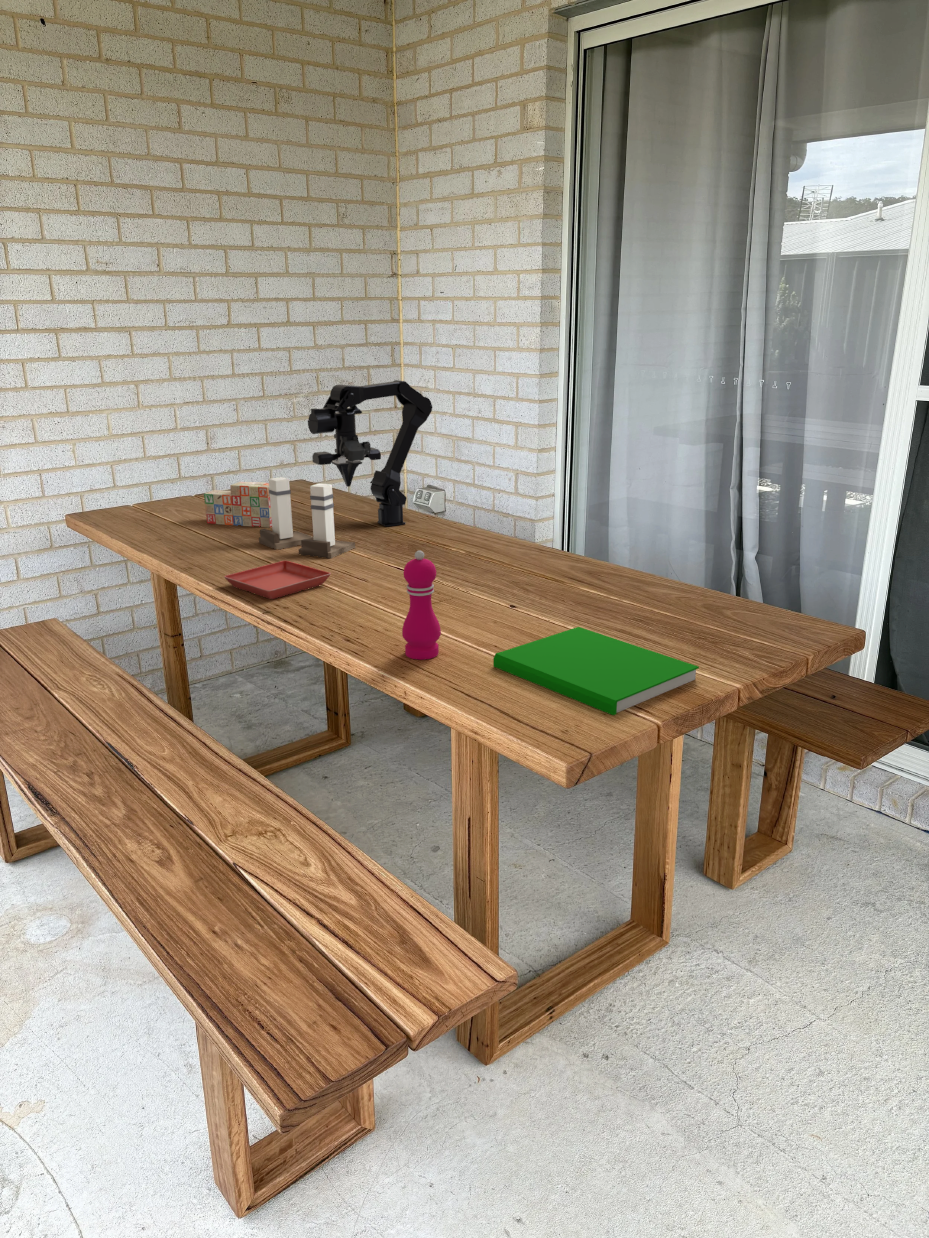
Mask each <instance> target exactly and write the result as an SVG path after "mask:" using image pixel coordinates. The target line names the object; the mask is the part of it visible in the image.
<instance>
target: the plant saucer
mask: <svg viewBox="0 0 929 1238" xmlns="http://www.w3.org/2000/svg"><path fill="white" fill-rule="evenodd" d="M331 575H332V574H331V572H329V571H326V570H322V569H318V568H315V567H312V566H307V565H304V564H300V563H297V562H293V561H289V560H281V561H277V562H273V563H268V564H265V565H261V566H258V567H254V568H250V569H249V568H248V569H245V570H243V571H238V572H234V573H230V574H226V575H224V576H223V578H224V579H225V580H226V581H227V582H228V583H229V584H230V585H231V586H233V587H234V588H235V587H237V588H236V589H238V588H240V589H239V590H241V589H243V590H242V591H244V590H246V591H245V592H247V591H249V593H250V592H251V593H250V594H253V593H255V594H254V595H256V594H258V595H257V596H259V595H260V597H262V596H263V598H265V597H266V599H268V600H269V599H270V600H274V599H275V600H276V599H279V598H282V597H285V595H286V596H289V595H292V593H293V594H296V593H299V592H298V591H300V592H302V591H301V590H304V591H306V590H305V589H307V590H309V589H308V588H311V589H313V588H312V587H314V588H317V587H316V586H318V587H320V586H319V585H321V586H322V585H323V584H324V583H325V582H326V581H327V580H328V578H330V576H331ZM295 592H296V593H295ZM288 594H289V595H288ZM278 597H279V598H278Z"/></svg>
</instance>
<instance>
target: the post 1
mask: <svg viewBox="0 0 929 1238" xmlns="http://www.w3.org/2000/svg"><path fill="white" fill-rule="evenodd" d="M268 483H269V494H270V504H271V517H272V527H271V528H272V530H271V531H273V532H275V533H278V534H279V539H284V538H290V537H293V532H294V531H293V529H294V528H293V516H292V515H293V514H292V504H291V502H292V501H291V493H292V491H291V488H290V487H291V486H290V479H289V478H288V477H283V476H280V477H272V478H268Z"/></svg>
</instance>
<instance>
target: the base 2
mask: <svg viewBox="0 0 929 1238" xmlns="http://www.w3.org/2000/svg"><path fill="white" fill-rule="evenodd" d="M300 546H301V548H298V555H299V554H301V555H300V556H306V555H310V556H309V557H314V556H318V557H317V558H322V557H326V558H325V559H333V557H334V558H336V557H337V555H338V556H340V555H342V553H343V554H344V552H345V553H347V552H349V551H352V550H353V548H354V549H356V542H354V541H345V540H336V539H335V545H332V546H330V542H327V541H318V540H309V539H303V540H301V545H300ZM351 549H352V550H351ZM339 554H340V555H339ZM335 556H336V557H335Z"/></svg>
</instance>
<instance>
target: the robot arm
mask: <svg viewBox="0 0 929 1238" xmlns="http://www.w3.org/2000/svg"><path fill="white" fill-rule="evenodd" d="M394 396H395V397H396V400H397V401H398V402H399V404H400V405H402V406H403V407H402V411H401V415H402V424H401V425H400V428H399V431H398V433H397V436H396V438H395V441H394V443H393V445H392V448H391V451H390V453H389V456H388V458H387V461H386V463H385V465H384V467H383V468H382V469H381V470H380V471H379V470H375V471H374V473H373V477H372V479H371V481H370V482H369V483H370V492H371V495H372V496H374V497H375V500H376V502H377V503H379V507H378V509H377V517H378V519H377V520H378V521H377V523H378V524H380V525H381V526H384V527H393V526H401V525H406V523H407V522H406V521H404V514H403V513H404V511H403V510H404V509H403V507H404V506H405V504H406V503H407V500H408V499H407V496H405V495H404V494H403V492H401V491H400V488H401V484H402V481H401V472H402V470H403V468H404V465H405V463H406V461H407V457H408V454H409V452H410V450H411V447H412V445H413V442H414V441H415V438H416V435H417V432H418V430H419V429H420V427H422V426H423V425H424V423H426V421H427V420H428V418H429V417H430V415H431V413H432V411H433V404H432V402H431V400H430V398H429V397H426V396H424V395H423V394H422V393H420V392H419V391H417V390H416V389H415V388H414V387H412V386H411V385H410V384H409V383H408V382H406V381H405V380H399V379H398V380H397V379H396V380H392V381H388V382H387V381H386V382H381V383H380V382H379V383H372V384H364V385H353V384H352V385H349V384H335V385H333V386H332V388H331V390H330V394H329V396H328V398H327V400H326V402H325V404H324V405H323V407H322V408H311V409H310V413H309V415H308V418H307V427H308V429H309V431H310V433H311V434H312V435H317V434H318V435H319V434H329V433H334V431H335V433H334V434H333V438H334V439H335V448H334V453H330V452H328V451H317V452H314V453H312V460H311V461H312V463H313V464H316V465H319V466H321V465H331V464H332V465H334V466H336V468H337V469H338V471H339V473H340V475H341V477H342V480H343V482H344V484H345V486H346V487H351V484H352V482H353V478H354V475H355V472H356V470H357V468H358V467H359V465H363V461H364V460H365V459H367V458H368V459H369V460H370V461H378V460H382V454H381V451H380V450H379V449H378V448H375V447H371V442H370V441H362V442H360V440H359V436H358V434H357V429H356V428H357V425H356V415H361V414H363V411H362V410H361V409H360V408H359V407H358V406H357V405H360V404H362V403H363V402H366V401H368V400H376V399H380V398H381V399H382V398H387V397H394ZM403 505H404V506H403Z"/></svg>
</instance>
